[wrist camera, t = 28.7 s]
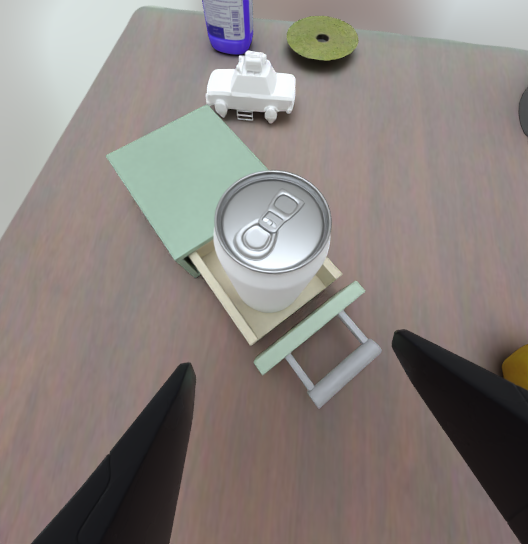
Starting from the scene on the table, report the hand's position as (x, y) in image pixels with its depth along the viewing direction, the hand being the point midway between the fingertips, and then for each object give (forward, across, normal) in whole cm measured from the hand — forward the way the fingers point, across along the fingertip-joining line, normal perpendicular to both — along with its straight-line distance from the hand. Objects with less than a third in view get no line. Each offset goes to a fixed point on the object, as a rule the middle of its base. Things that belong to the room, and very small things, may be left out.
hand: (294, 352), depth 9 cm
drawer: (+12, -1, +5) cm, 13 cm away
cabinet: (+21, +6, -3) cm, 22 cm away
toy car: (+32, -2, -14) cm, 35 cm away
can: (+12, 0, +4) cm, 13 cm away
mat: (+40, -14, -22) cm, 48 cm away
